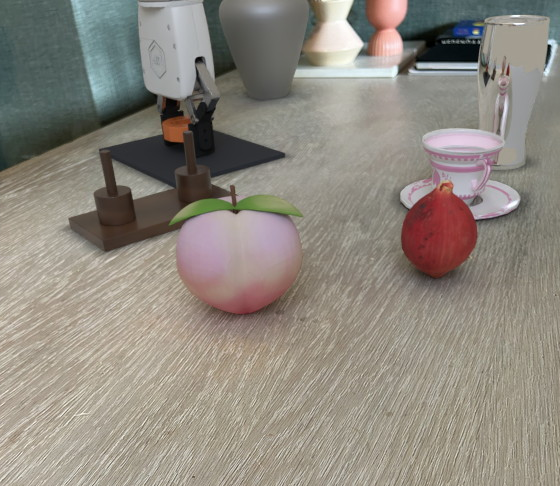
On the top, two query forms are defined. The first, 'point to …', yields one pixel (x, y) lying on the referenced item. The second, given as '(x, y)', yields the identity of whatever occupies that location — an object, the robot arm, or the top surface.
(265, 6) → the vase
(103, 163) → the rack
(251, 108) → the top surface
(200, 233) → the decorative fruit
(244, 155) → the mat
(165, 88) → the robot arm
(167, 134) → the disc
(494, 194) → the teacup
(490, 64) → the beer glass
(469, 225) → the pomegranate
